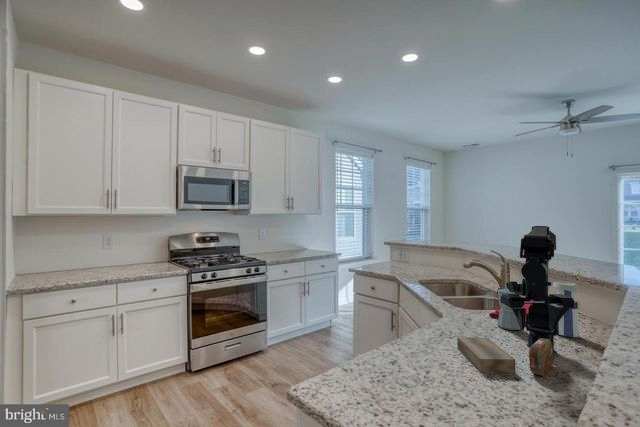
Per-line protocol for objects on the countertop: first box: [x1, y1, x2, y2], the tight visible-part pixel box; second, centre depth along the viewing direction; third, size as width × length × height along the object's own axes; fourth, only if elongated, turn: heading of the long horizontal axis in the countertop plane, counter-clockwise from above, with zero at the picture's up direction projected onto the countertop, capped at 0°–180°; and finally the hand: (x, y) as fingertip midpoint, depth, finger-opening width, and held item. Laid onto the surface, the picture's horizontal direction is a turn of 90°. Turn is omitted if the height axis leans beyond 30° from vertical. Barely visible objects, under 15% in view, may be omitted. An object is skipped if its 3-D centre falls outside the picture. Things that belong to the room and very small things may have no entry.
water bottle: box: [553, 269, 581, 338], centre depth 126 cm, size 8×9×25 cm
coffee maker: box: [496, 282, 522, 331], centre depth 135 cm, size 15×9×18 cm, turn 179°
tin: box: [528, 338, 555, 377], centre depth 96 cm, size 15×3×8 cm, turn 131°
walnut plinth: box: [456, 336, 516, 374], centre depth 102 cm, size 10×17×4 cm, turn 178°
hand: (536, 329), depth 96 cm, fingers open, 8 cm apart
